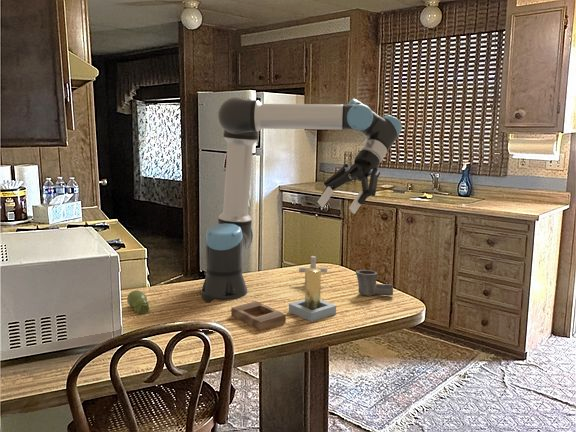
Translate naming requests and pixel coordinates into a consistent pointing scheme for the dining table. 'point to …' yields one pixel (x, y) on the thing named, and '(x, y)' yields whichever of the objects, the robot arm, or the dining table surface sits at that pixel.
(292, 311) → the blue-grey square socket
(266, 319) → the brown wooden holder
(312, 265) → the pipe connector
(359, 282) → the pipe
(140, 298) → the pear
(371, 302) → the dining table surface
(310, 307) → the axle
